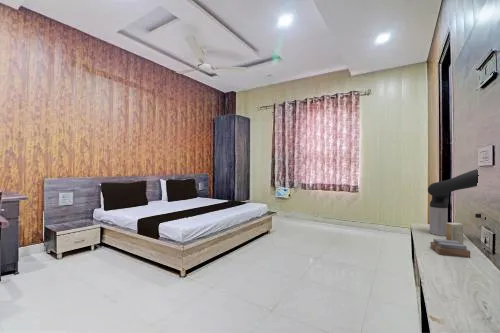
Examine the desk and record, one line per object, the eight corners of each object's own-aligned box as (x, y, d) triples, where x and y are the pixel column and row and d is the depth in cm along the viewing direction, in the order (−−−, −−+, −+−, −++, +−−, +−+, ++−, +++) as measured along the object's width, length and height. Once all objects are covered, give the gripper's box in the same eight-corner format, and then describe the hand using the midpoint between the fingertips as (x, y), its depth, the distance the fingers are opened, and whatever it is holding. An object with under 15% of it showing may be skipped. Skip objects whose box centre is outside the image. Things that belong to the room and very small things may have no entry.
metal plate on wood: (430, 247, 131) (430, 238, 131) (457, 249, 128) (457, 240, 128) (440, 254, 120) (440, 244, 120) (470, 257, 116) (470, 247, 116)
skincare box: (457, 244, 137) (458, 222, 137) (463, 247, 132) (464, 224, 132) (445, 244, 137) (445, 222, 137) (451, 246, 133) (451, 224, 133)
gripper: (509, 209, 133) (472, 208, 138) (529, 213, 120) (488, 212, 125) (509, 223, 133) (472, 221, 138) (530, 229, 120) (488, 226, 125)
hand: (480, 217), depth 131 cm, fingers open, 8 cm apart
